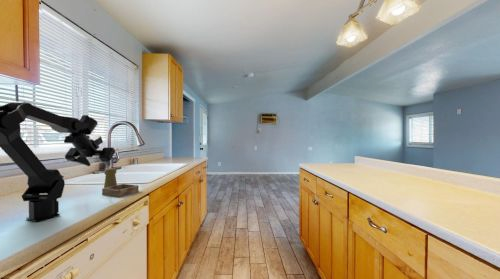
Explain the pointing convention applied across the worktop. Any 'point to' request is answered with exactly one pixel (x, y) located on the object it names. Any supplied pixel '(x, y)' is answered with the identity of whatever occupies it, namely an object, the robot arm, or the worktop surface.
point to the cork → (110, 177)
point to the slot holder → (120, 190)
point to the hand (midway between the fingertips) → (99, 165)
